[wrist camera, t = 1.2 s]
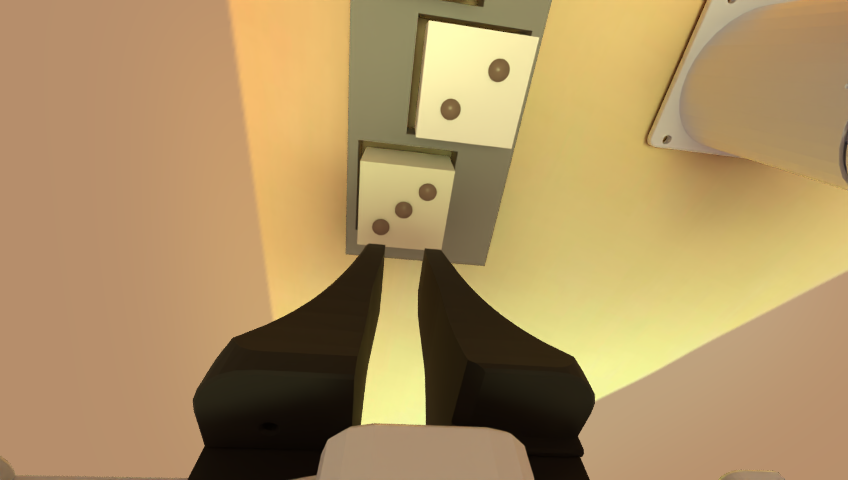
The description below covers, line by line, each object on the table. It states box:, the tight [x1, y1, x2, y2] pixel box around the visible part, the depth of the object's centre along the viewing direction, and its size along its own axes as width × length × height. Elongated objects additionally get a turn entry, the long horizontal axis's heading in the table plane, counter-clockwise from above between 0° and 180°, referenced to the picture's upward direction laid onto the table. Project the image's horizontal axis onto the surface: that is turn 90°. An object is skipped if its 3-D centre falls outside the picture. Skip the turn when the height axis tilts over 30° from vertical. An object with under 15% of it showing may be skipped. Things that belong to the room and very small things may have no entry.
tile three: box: [357, 147, 455, 250], centre depth 19 cm, size 5×5×3 cm
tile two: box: [415, 20, 539, 149], centre depth 16 cm, size 5×5×3 cm
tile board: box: [346, 0, 552, 266], centre depth 18 cm, size 9×21×2 cm, turn 173°
